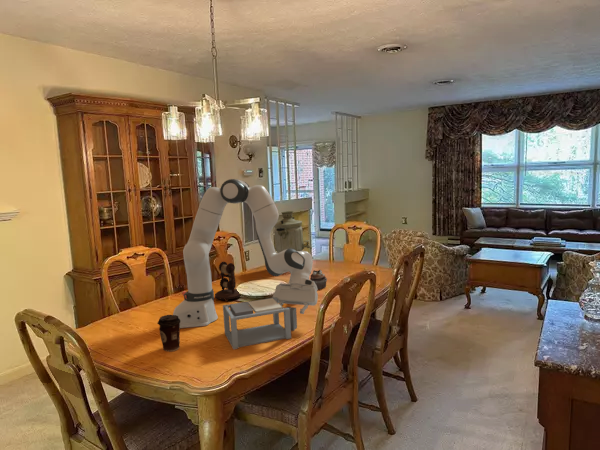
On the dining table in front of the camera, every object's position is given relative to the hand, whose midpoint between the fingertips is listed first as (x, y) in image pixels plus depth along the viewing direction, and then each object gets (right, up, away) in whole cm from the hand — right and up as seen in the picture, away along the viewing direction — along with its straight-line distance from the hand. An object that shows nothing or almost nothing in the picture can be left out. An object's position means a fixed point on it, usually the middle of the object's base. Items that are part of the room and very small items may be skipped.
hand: (291, 312), depth 181 cm
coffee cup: (-48, -11, -15) cm, 51 cm away
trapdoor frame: (-14, -8, -6) cm, 18 cm away
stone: (0, -7, 0) cm, 7 cm away
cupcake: (+15, +2, +62) cm, 64 cm away
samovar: (-1, +7, +108) cm, 108 cm away
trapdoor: (-15, +2, -8) cm, 17 cm away
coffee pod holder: (-36, -2, +48) cm, 60 cm away
